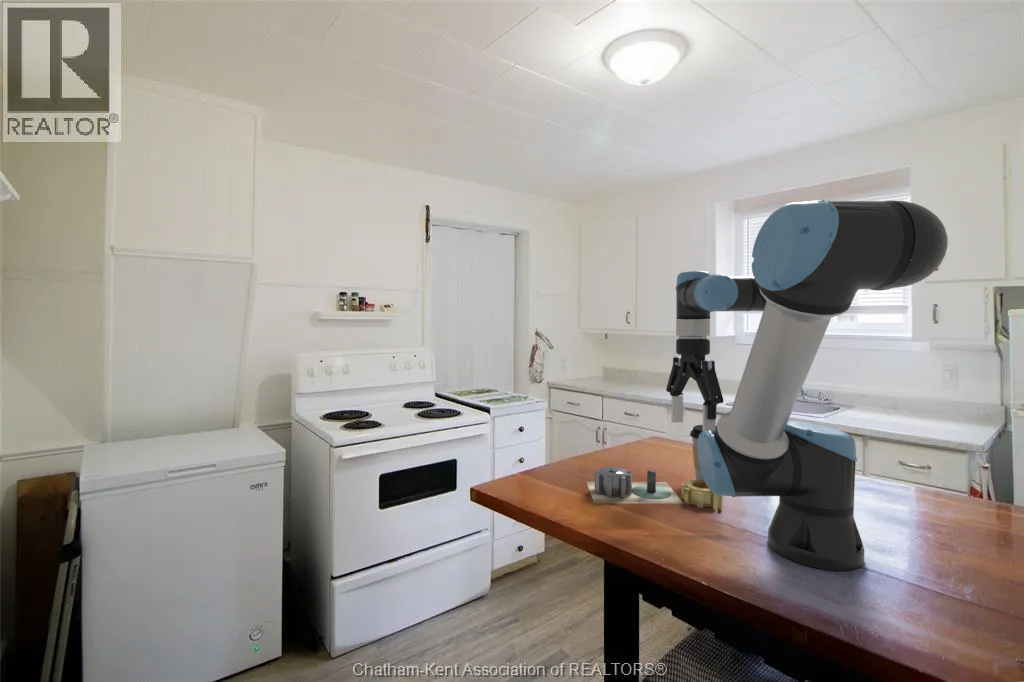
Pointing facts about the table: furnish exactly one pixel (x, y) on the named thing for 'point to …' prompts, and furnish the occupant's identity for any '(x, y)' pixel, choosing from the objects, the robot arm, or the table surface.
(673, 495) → the gear board
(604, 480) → the gear
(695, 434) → the coffee cup
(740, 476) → the robot arm
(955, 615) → the table surface
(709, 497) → the gear
